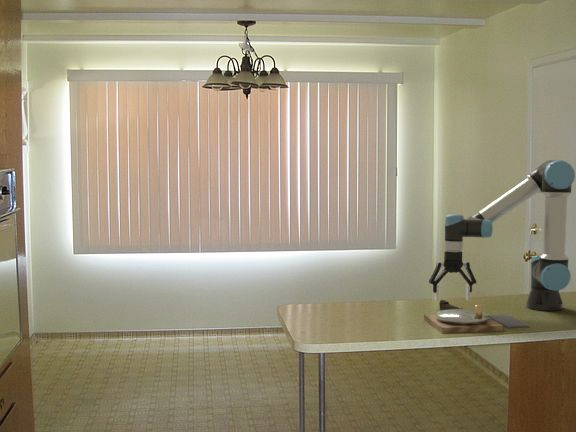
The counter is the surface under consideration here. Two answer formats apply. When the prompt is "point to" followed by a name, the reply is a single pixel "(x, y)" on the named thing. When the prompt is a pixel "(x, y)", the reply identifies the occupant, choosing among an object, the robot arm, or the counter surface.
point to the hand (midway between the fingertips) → (452, 300)
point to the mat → (508, 321)
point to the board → (453, 328)
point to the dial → (463, 316)
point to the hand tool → (446, 305)
